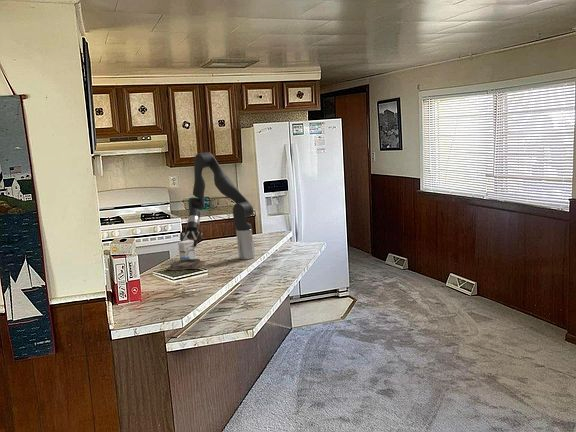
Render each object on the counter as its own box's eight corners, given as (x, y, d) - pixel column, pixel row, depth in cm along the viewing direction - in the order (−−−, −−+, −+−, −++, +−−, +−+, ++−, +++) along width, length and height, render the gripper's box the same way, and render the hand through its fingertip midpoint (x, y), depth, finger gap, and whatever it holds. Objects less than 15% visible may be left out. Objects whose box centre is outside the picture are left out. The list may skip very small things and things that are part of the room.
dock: (205, 262, 311) (205, 256, 311) (196, 269, 294) (195, 263, 293) (176, 263, 314) (176, 257, 313) (165, 271, 296) (164, 264, 296)
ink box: (185, 262, 315) (183, 242, 314) (180, 261, 318) (177, 242, 317) (196, 258, 322) (194, 239, 320) (190, 258, 325) (188, 239, 323)
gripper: (180, 221, 329) (175, 244, 319) (202, 220, 326) (198, 242, 317) (183, 228, 334) (179, 250, 325) (205, 227, 332) (202, 249, 322)
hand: (189, 246), depth 321 cm, fingers closed on ink box, 6 cm apart
